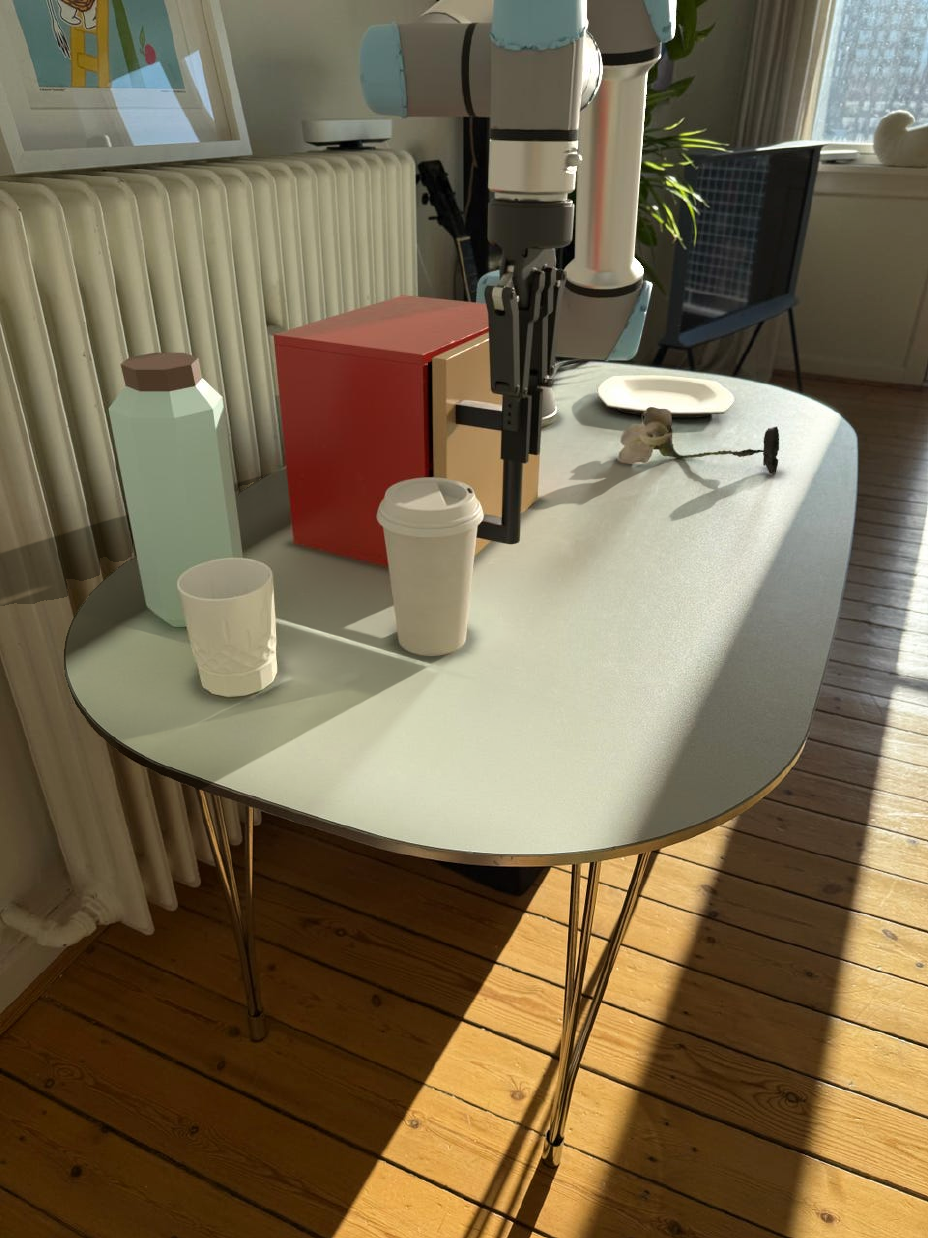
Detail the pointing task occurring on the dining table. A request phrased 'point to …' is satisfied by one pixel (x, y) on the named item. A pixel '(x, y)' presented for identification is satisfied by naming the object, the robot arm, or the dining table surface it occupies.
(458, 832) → the dining table surface
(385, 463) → the cabinet
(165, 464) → the water bottle
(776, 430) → the artificial flower
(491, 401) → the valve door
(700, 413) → the plate
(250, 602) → the white cup
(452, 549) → the coffee cup
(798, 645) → the dining table surface
